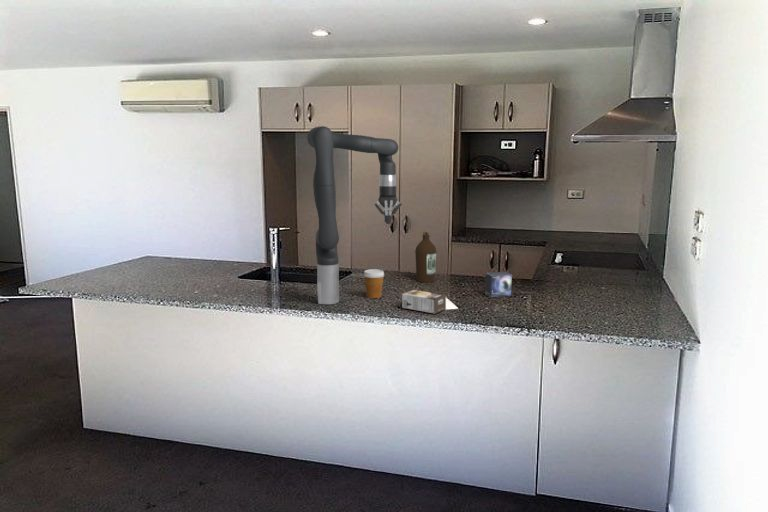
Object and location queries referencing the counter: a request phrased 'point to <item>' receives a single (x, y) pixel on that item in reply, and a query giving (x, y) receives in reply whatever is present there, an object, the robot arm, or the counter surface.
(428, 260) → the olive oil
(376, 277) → the disposable coffee cup
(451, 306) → the mat
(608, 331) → the counter surface
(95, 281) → the counter surface
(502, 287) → the small box
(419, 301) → the coffee box
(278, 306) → the counter surface
